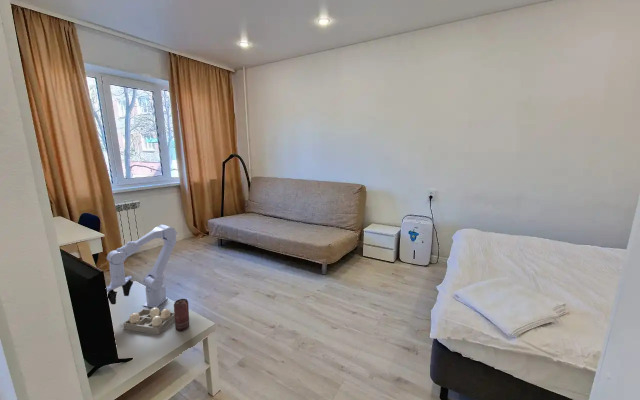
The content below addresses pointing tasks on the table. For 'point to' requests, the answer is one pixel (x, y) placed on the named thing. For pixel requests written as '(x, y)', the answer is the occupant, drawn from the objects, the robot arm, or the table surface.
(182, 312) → the can
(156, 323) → the egg
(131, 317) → the egg
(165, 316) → the egg
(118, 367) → the table surface
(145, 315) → the carton
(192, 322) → the table surface
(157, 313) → the egg
